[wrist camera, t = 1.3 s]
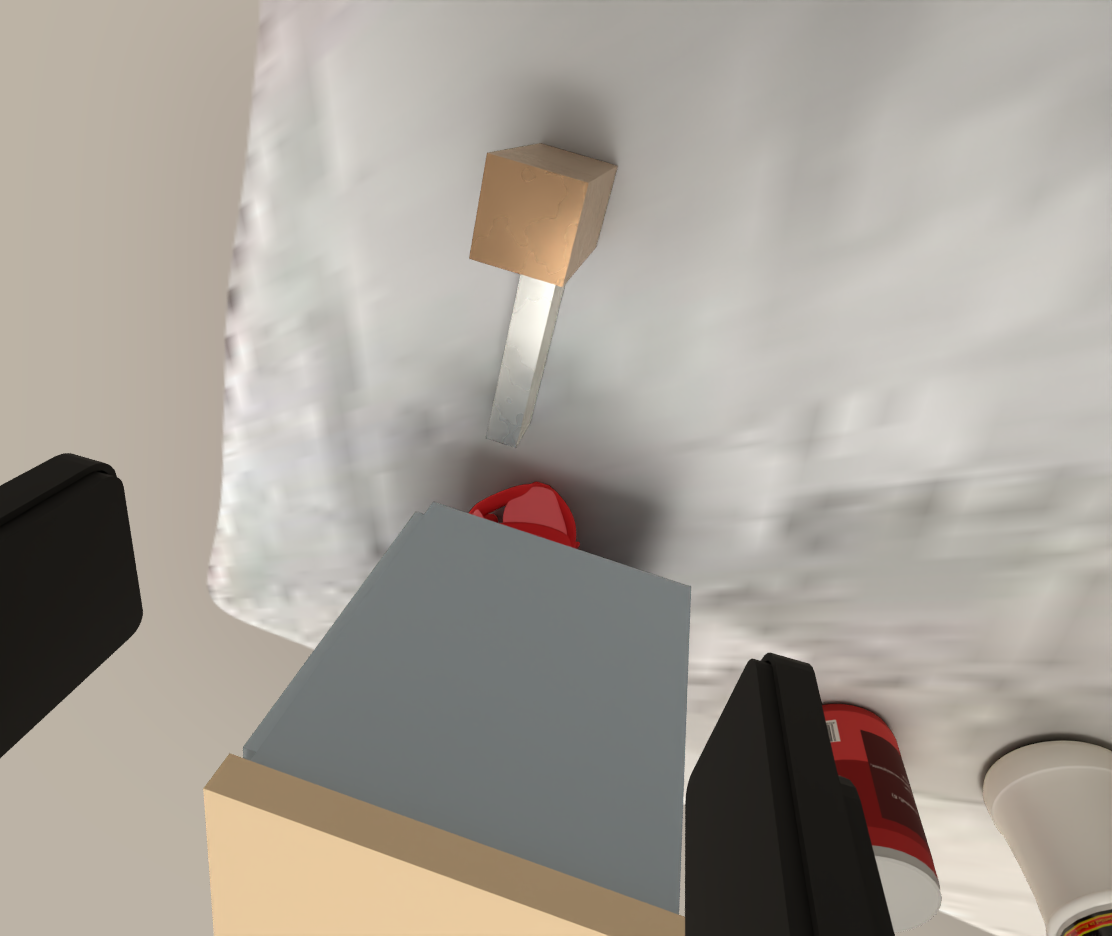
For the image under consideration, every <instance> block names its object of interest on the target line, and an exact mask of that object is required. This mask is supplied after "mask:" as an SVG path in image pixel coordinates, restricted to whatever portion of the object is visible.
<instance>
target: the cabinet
mask: <svg viewBox="0 0 1112 936" xmlns="http://www.w3.org/2000/svg"><path fill="white" fill-rule="evenodd" d="M690 602H691V586H688V585H685V584H681V583H678V582H675V581H672V580H669V579H666V578H663V577H660V576H657V575H654V574H651V573H648V572H645V571H642V570H639V569H636V568H633V567H630V566H627V565H624V564H621V563H618V562H615V561H612V560H609V559H606V558H603V557H600V556H596V555H593V554H590V553H587V552H584V551H581V550H578V549H575V548H572V547H569V546H566V545H563V544H560V543H557V542H554V541H551V540H548V539H545V538H542V537H539V536H536V535H533V534H530V533H527V532H524V531H521V530H518V529H515V528H511V527H508V526H505V525H502V524H499V523H496V522H493V521H490V520H487V519H484V518H481V517H478V516H475V515H472V514H469V513H466V512H463V511H460V510H457V509H454V508H451V507H448V506H445V505H442V504H439V503H436V502H433V503H432V504H431V506H430V507H429V509H428V510H427V511H426V513H425V514H421V513H418V512H415V513H414V515H413V516H412V517H411V519H410V520H409V522H408V523H407V524H406V526H405V527H404V528H403V530H402V531H401V532H400V534H399V535H398V537H397V538H396V539H395V541H394V542H393V543H392V545H391V546H390V547H389V549H388V550H387V552H386V553H385V554H384V556H383V557H382V558H381V560H380V561H379V562H378V564H377V565H376V567H375V568H374V569H373V571H372V572H371V573H370V575H369V576H368V577H367V579H366V580H365V582H364V583H363V584H362V586H361V587H360V588H359V590H358V591H357V592H356V594H355V595H354V597H353V598H352V599H351V601H350V602H349V603H348V605H347V606H346V607H345V609H344V610H343V612H342V613H341V614H340V616H339V617H338V618H337V620H336V621H335V622H334V624H333V625H332V627H331V628H330V629H329V631H328V632H327V633H326V635H325V636H324V637H323V639H322V640H321V642H320V643H319V644H318V646H317V647H316V648H315V650H314V651H313V652H312V654H311V655H310V657H309V658H308V659H307V661H306V662H305V663H304V665H303V666H302V667H301V669H300V670H299V672H298V673H297V674H296V676H295V677H294V678H293V680H292V681H291V683H290V684H289V685H288V687H287V688H286V689H285V691H284V692H283V693H282V695H281V696H280V697H279V699H278V700H277V702H276V703H275V704H274V706H273V707H272V708H271V710H270V711H269V712H268V714H267V715H266V717H265V718H264V719H263V721H262V722H261V724H260V725H259V726H258V727H257V729H256V730H255V732H254V733H253V734H252V736H251V737H250V738H249V740H248V741H247V742H246V744H245V745H244V747H243V758H241V757H238V756H236V755H233V754H229V755H228V756H227V758H226V759H225V760H224V762H223V763H222V764H221V766H220V767H219V768H218V770H217V771H216V772H215V774H214V775H213V776H212V778H211V779H210V780H209V782H208V783H207V784H206V786H205V787H204V803H205V816H206V831H207V843H208V858H209V872H210V886H211V900H212V913H213V927H214V936H685V917H684V916H681V915H679V899H680V898H679V897H680V871H681V846H682V818H683V792H684V765H685V738H686V711H687V684H688V657H689V629H690Z"/></svg>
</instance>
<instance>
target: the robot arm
mask: <svg viewBox="0 0 1112 936" xmlns="http://www.w3.org/2000/svg"><path fill="white" fill-rule="evenodd" d="M142 616H143V609H142V602H141V596H140V589H139V583H138V576H137V571H136V563H135V558H134V551H133V544H132V538H131V531H130V525H129V518H128V513H127V506H126V500H125V493H124V486H123V483H122V481H121V480H120V479H119V478H117V476H116V473H115V470H114V469H113V468H112V467H111V466H110V465H108V464H106V463H102V462H99V461H95V460H92V459H89V458H85V457H81V456H78V455H75V454H71V453H70V454H69V453H67V454H66V453H65V454H61V455H58V456H55V457H53V458H51V459H49V460H48V461H46V462H44V463H42V464H40V465H39V466H36V467H35V468H33V469H31V470H29V471H27V472H25V473H23V474H21V475H19V476H18V477H16V478H14V479H12V480H10V481H8V482H6V483H4V484H3V485H1V486H0V758H1V757H2V756H3V755H4V754H5V753H6V752H7V751H8V750H10V748H12V747H13V746H14V745H15V744H16V743H17V742H18V741H19V740H20V739H21V738H23V736H25V735H26V734H27V733H28V732H29V731H30V730H31V729H32V728H33V727H34V726H35V725H36V724H37V723H39V722H40V721H41V720H42V719H43V718H44V717H45V716H46V715H47V714H48V713H49V712H50V711H52V710H53V709H54V708H55V707H56V706H57V705H58V704H59V703H60V702H61V701H62V700H63V699H65V698H66V697H67V696H68V695H69V694H70V693H71V692H72V691H73V690H74V689H75V688H76V687H77V686H79V685H80V684H81V682H83V681H84V680H85V679H86V678H87V677H88V676H89V675H90V674H91V673H92V672H94V671H95V670H96V669H97V668H98V667H99V666H100V665H101V664H102V663H103V662H104V661H105V660H107V658H109V657H110V656H111V655H112V654H113V653H114V652H115V651H116V650H117V649H118V648H119V647H121V646H122V645H123V644H124V643H125V642H126V641H127V640H128V639H129V638H130V637H131V636H132V635H133V634H134V633H135V632H136V630H137V629H138V627H139V625H140V623H141V620H142ZM685 806H686V807H685V809H686V810H685V814H686V816H685V819H686V820H685V821H686V822H685V827H686V828H685V829H686V830H685V832H686V833H685V936H895V934H894V930H893V926H892V922H891V918H890V914H889V910H888V906H887V902H886V898H885V894H884V890H883V887H882V883H881V879H880V875H879V871H878V867H877V863H876V859H875V855H874V851H873V847H872V843H871V839H870V835H869V831H868V827H867V823H866V819H865V816H864V812H863V808H862V804H861V800H860V797H859V795H858V792H857V789H856V787H855V786H854V784H853V783H852V782H851V780H849V779H847V778H845V777H842V776H839V775H838V773H837V768H836V764H835V760H834V755H833V751H832V747H831V742H830V738H829V733H828V729H827V725H826V720H825V716H824V712H823V707H822V703H821V699H820V694H819V690H818V685H817V681H816V677H815V673H814V670H813V667H812V666H811V665H810V664H808V663H805V662H801V661H798V660H794V659H791V658H787V657H784V656H780V655H777V654H773V653H767V654H766V655H764V657H763V658H762V660H761V661H759V660H755V659H751V660H749V661H748V663H747V665H746V666H745V668H744V670H743V672H742V674H741V676H740V678H739V680H738V682H737V684H736V686H735V688H734V690H733V692H732V694H731V696H730V698H729V700H728V702H727V704H726V706H725V708H724V710H723V712H722V714H721V716H720V718H719V720H718V722H717V724H716V726H715V728H714V730H713V732H712V734H711V736H710V738H709V740H708V742H707V744H706V746H705V748H704V750H703V752H702V754H701V756H700V758H699V760H698V762H697V764H696V766H695V768H694V770H693V772H692V774H691V776H690V779H689V782H688V786H687V792H686V804H685Z"/></svg>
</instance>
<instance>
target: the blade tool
mask: <svg viewBox="0 0 1112 936" xmlns="http://www.w3.org/2000/svg"><path fill="white" fill-rule="evenodd" d="M617 168H618V166H617V165H614V164H610V163H607V162H603V161H600V160H597V159H593V158H590V157H586V156H583V155H580V154H576V153H573V152H569V151H566V150H562V149H559V148H556V147H552V146H549V145H545V144H542V143H539V144H533V145H527V146H522V147H516V148H511V149H505V150H500V151H494V152H489V153H487V156H486V162H485V168H484V174H483V180H482V186H481V192H480V198H479V204H478V209H477V215H476V221H475V227H474V233H473V239H472V245H471V251H470V257H469V259H472V260H475V261H479V262H482V263H485V264H489V265H492V266H495V267H498V268H502V269H505V270H508V271H511V272H515V273H518V274H521V275H520V280H519V285H518V289H517V294H516V299H515V303H514V308H513V313H512V317H511V322H510V327H509V332H508V336H507V341H506V346H505V350H504V355H503V360H502V364H501V369H500V374H499V378H498V383H497V388H496V392H495V397H494V402H493V407H492V411H491V416H490V421H489V425H488V430H487V435H486V438H487V439H490V440H493V441H496V442H499V443H502V444H505V445H508V446H511V447H515V448H516V447H517V445H518V443H519V442H520V440H521V438H522V436H523V435H524V433H525V431H526V429H527V428H528V426H529V424H530V423H531V419H532V415H533V411H534V407H535V403H536V399H537V395H538V391H539V387H540V383H541V379H542V375H543V371H544V367H545V363H546V359H547V355H548V351H549V347H550V343H551V339H552V335H553V331H554V327H555V323H556V319H557V315H558V311H559V307H560V303H561V299H562V295H563V291H564V287H565V284H566V283H567V281H568V280H569V279H570V278H571V277H572V275H573V274H574V273H575V272H576V271H577V269H578V268H579V267H580V266H581V265H582V264H583V262H584V261H585V260H586V259H587V258H588V256H589V255H590V254H591V253H592V252H593V250H594V249H595V248H596V246H597V242H598V238H599V235H600V231H601V227H602V223H603V220H604V216H605V212H606V209H607V205H608V201H609V197H610V194H611V190H612V186H613V182H614V179H615V175H616V171H617Z"/></svg>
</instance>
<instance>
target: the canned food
mask: <svg viewBox="0 0 1112 936" xmlns="http://www.w3.org/2000/svg"><path fill="white" fill-rule="evenodd" d="M822 707H823V712H824V716H825V720H826V725H827V729H828V733H829V738H830V742H831V747H832V751H833V755H834V760H835V764H836V768H837V773H838V775H839V776H842V777H845V778H847V779H849V780H851V782H852V783H853V784H854V786H855V787H856V789H857V792H858V795H859V797H860V800H861V804H862V808H863V812H864V816H865V819H866V823H867V827H868V831H869V835H870V839H871V843H872V847H873V851H874V855H875V859H876V863H877V867H878V871H879V875H880V879H881V883H882V887H883V890H884V894H885V898H886V902H887V906H888V910H889V914H890V918H891V922H892V926H893V930H894V933H899V932H903V931H906V930H911V929H913V928H916V927H918V926H921V925H923V924H924V923H926V922H927V921H929V920H931V918H932V917H934V915H935V914H936V913H937V912H938V910H939V908H940V906H941V900H942V897H941V892H940V885H939V881H938V877H937V874H936V871H935V867H934V863H933V859H932V856H931V853H930V849H929V846H928V843H927V840H926V836H925V833H924V830H923V826H922V823H921V820H920V817H919V813H918V810H917V807H916V803H915V800H914V797H913V794H912V790H911V787H910V784H909V780H908V777H907V774H906V771H905V767H904V764H903V761H902V757H901V754H900V751H899V748H898V744H897V741H896V739H895V737H894V735H893V733H892V732H891V730H890V729H889V728H888V726H887V725H886V724H885V722H884V721H883V720H882V719H881V718H880V717H878V716H877V715H875V714H874V713H872V712H870V711H868V710H866V709H863V708H860V707H857V706H853V705H846V704H827V705H822Z"/></svg>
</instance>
